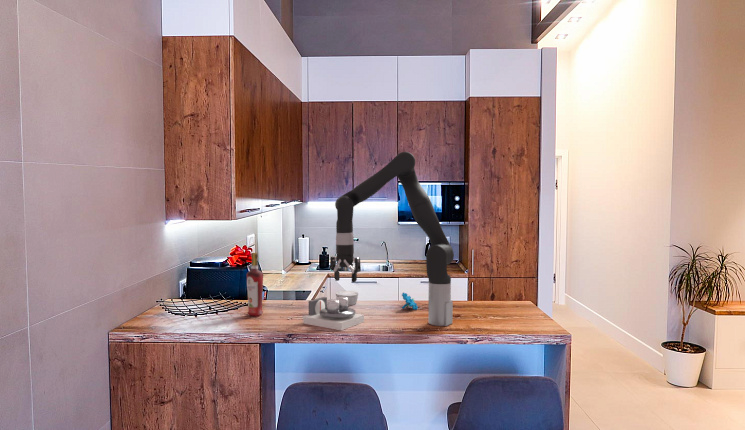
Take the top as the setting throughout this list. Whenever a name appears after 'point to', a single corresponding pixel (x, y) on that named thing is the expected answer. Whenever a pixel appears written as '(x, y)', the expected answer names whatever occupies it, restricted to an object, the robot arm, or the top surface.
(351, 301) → the ramekin
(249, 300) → the liquor
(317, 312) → the scale
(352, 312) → the pan
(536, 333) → the top surface
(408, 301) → the blue plastic branched piece
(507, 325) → the top surface
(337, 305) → the block
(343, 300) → the spacer
